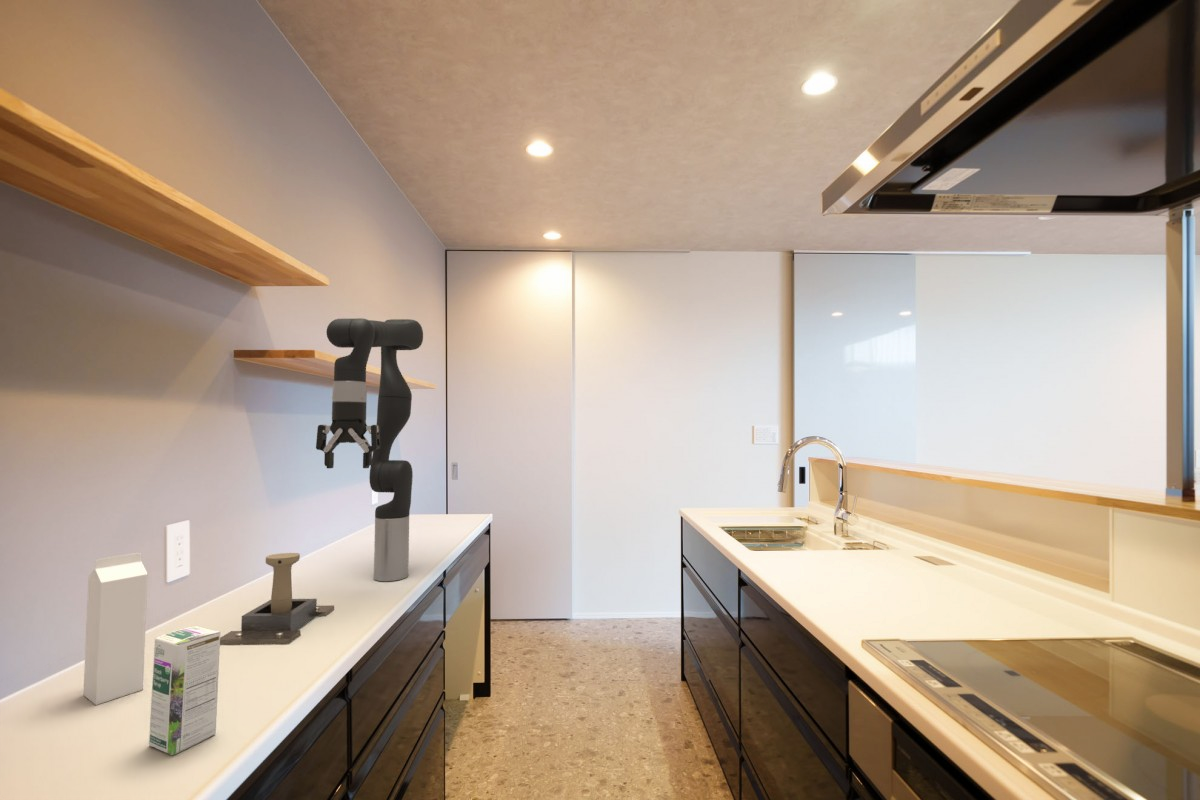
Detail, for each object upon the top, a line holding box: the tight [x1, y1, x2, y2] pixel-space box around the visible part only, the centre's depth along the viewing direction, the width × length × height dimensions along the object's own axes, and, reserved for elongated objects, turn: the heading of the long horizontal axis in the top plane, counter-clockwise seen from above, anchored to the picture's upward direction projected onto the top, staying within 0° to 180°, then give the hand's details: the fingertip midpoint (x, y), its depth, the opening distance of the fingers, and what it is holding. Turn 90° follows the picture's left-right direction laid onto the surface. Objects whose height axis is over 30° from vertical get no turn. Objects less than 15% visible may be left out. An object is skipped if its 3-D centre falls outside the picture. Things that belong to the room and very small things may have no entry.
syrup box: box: [148, 625, 221, 756], centre depth 76 cm, size 6×6×14 cm
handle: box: [265, 552, 301, 613], centre depth 118 cm, size 5×6×15 cm
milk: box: [82, 552, 149, 706], centre depth 89 cm, size 6×6×22 cm
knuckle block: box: [220, 598, 335, 646], centre depth 118 cm, size 20×14×4 cm
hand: (347, 468), depth 131 cm, fingers open, 8 cm apart
